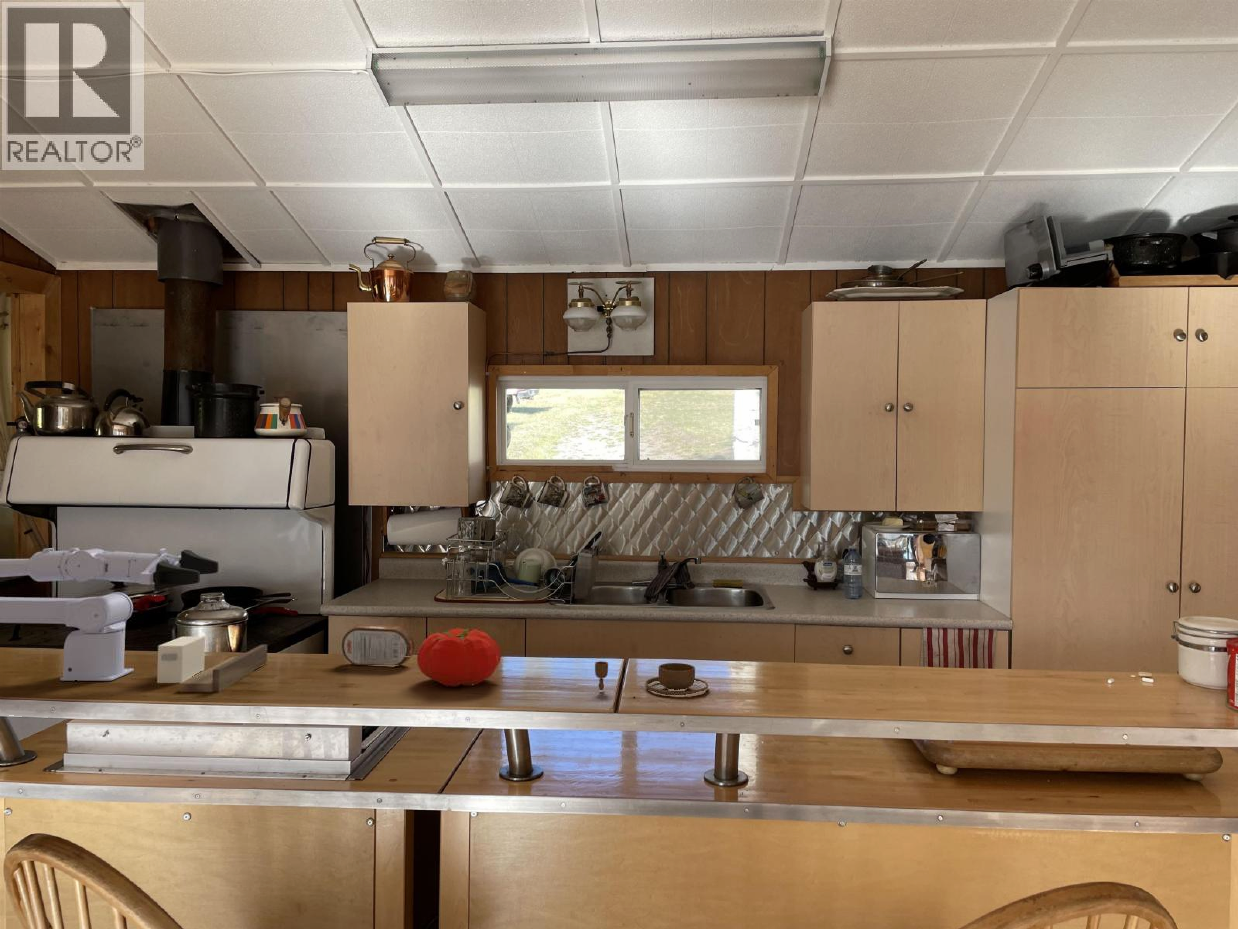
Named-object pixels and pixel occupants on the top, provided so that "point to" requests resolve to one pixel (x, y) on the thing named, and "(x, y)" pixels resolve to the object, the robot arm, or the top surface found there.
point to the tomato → (459, 657)
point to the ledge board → (226, 672)
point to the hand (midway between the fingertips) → (208, 572)
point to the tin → (377, 645)
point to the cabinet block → (180, 659)
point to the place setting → (662, 677)
